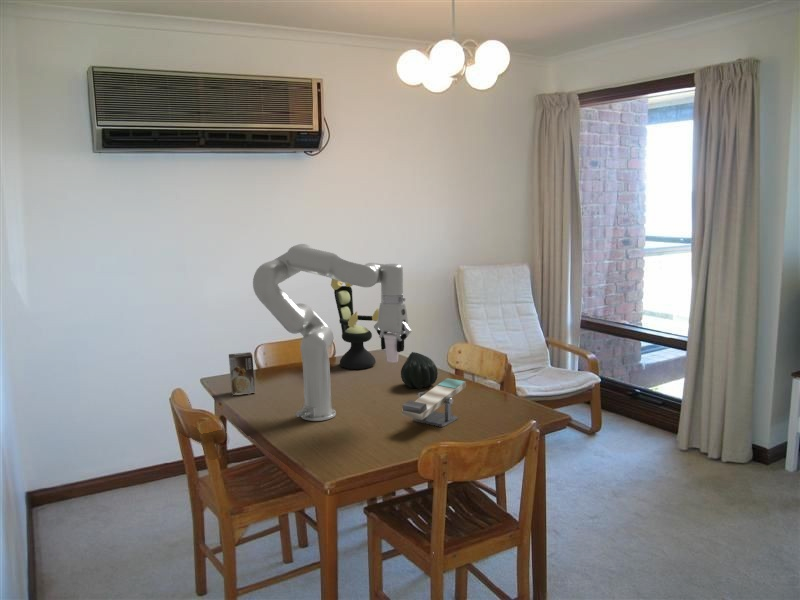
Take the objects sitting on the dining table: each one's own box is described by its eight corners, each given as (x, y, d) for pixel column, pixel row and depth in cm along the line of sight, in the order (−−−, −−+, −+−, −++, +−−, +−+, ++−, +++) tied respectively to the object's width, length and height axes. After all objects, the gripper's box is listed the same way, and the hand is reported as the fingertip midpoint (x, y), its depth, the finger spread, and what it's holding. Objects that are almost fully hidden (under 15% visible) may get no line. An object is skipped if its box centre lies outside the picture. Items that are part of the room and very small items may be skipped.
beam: (422, 419, 218) (420, 408, 217) (402, 415, 223) (401, 404, 222) (466, 386, 241) (465, 376, 240) (447, 383, 245) (446, 373, 244)
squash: (447, 376, 268) (432, 344, 275) (415, 383, 261) (401, 350, 268) (434, 391, 279) (420, 361, 286) (403, 399, 272) (390, 367, 278)
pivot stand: (444, 427, 225) (444, 402, 224) (411, 420, 233) (410, 395, 231) (459, 419, 233) (459, 394, 232) (427, 412, 241) (426, 388, 239)
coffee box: (253, 389, 274) (251, 351, 271) (255, 394, 268) (253, 355, 265) (230, 392, 271) (228, 353, 268) (232, 396, 265) (229, 357, 262)
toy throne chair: (358, 373, 296) (355, 272, 288) (322, 366, 309) (318, 270, 302) (385, 364, 310) (382, 268, 303) (349, 357, 324) (346, 265, 317)
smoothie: (401, 358, 237) (401, 320, 235) (402, 363, 231) (401, 323, 229) (383, 358, 237) (383, 320, 235) (383, 363, 231) (383, 324, 228)
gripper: (418, 300, 228) (418, 351, 231) (378, 296, 238) (379, 344, 241) (406, 303, 222) (406, 355, 225) (365, 298, 232) (366, 348, 235)
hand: (392, 349), depth 233 cm, fingers closed on smoothie, 6 cm apart
